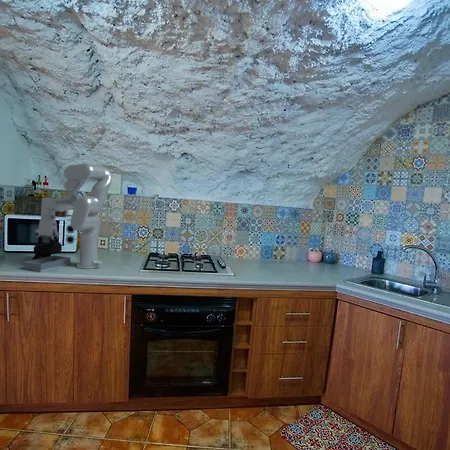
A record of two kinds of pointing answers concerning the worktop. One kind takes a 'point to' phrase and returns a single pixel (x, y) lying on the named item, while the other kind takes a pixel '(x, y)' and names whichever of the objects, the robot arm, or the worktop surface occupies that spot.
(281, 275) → the worktop surface
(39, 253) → the black irregular piece
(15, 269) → the worktop surface
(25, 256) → the worktop surface
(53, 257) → the holder tray
